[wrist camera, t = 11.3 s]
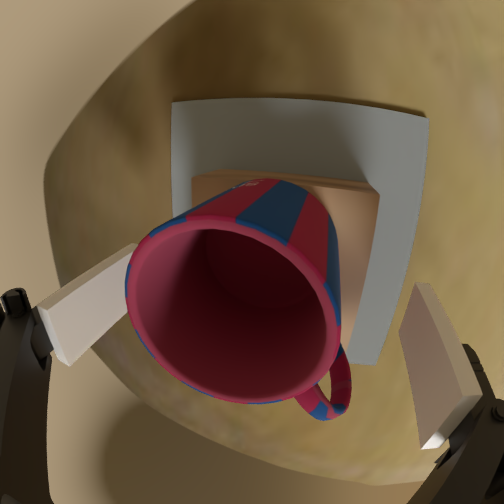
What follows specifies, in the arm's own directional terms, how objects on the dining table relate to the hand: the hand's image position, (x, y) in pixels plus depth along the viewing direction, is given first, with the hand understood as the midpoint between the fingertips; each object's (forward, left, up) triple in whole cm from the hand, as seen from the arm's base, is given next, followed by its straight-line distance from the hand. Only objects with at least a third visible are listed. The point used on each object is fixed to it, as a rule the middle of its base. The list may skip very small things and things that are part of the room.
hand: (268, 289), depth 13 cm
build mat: (0, 0, -6) cm, 6 cm away
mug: (0, 0, -2) cm, 2 cm away
